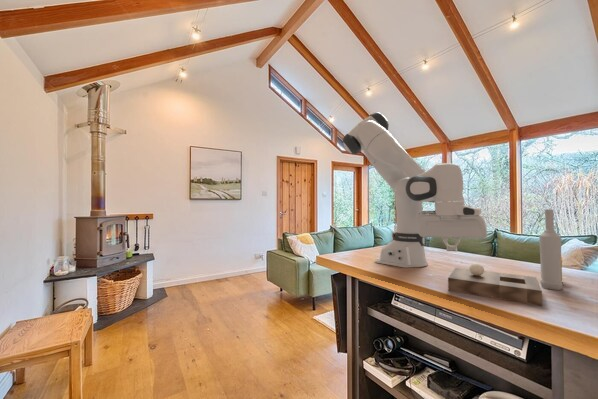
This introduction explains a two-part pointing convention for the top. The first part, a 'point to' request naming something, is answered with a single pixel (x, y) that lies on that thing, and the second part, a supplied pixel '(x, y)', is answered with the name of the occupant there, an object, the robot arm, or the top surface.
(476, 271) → the ball
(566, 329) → the top surface
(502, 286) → the board
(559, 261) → the bottle
